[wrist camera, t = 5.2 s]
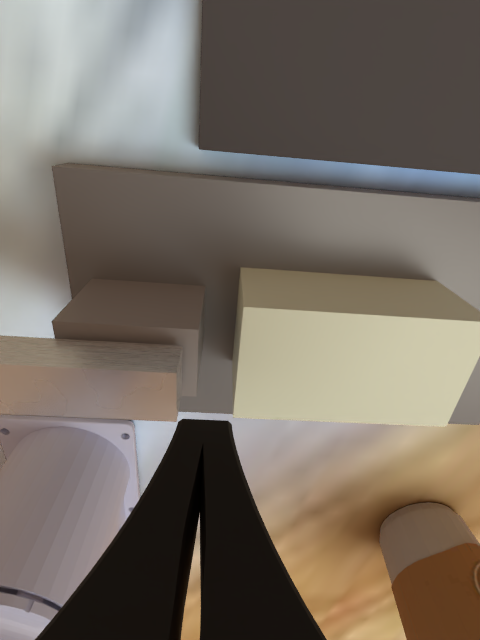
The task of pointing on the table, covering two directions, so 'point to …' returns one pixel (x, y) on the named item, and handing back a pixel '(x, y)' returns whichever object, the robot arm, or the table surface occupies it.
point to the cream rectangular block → (350, 348)
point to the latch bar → (90, 379)
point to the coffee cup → (433, 572)
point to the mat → (343, 81)
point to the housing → (239, 257)
